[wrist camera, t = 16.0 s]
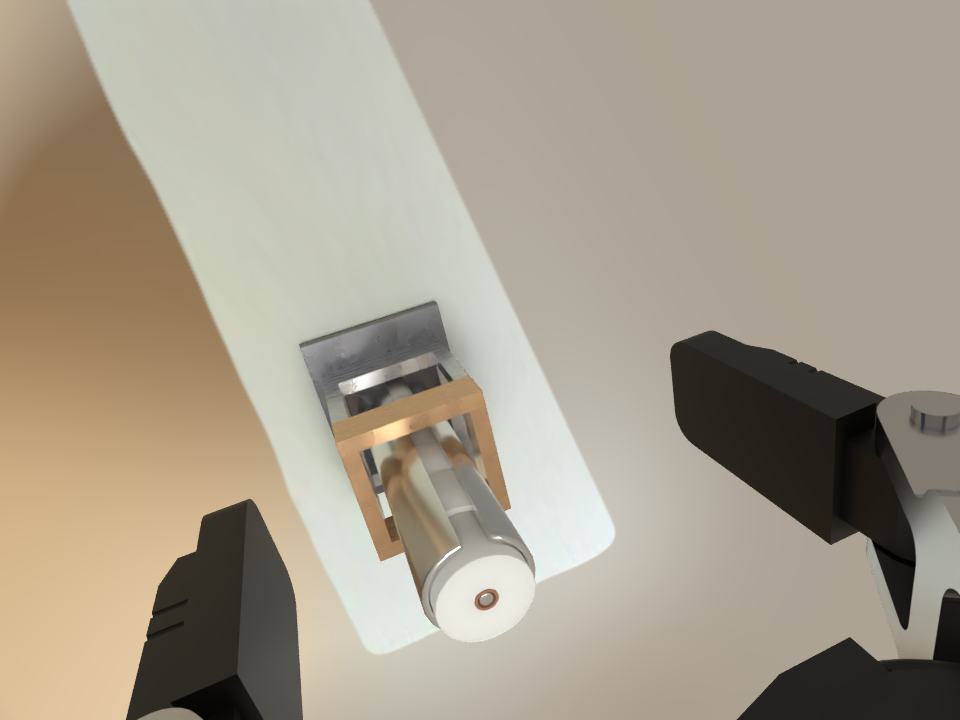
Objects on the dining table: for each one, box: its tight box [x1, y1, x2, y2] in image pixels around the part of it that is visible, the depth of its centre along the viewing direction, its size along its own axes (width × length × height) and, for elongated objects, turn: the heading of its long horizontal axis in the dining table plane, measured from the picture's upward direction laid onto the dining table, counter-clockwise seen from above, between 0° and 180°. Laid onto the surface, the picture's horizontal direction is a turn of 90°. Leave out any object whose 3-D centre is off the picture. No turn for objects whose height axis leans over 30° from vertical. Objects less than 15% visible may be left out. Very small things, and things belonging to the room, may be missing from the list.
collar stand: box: [300, 301, 511, 561], centre depth 48 cm, size 16×12×14 cm
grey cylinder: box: [359, 374, 536, 642], centre depth 42 cm, size 6×6×25 cm
